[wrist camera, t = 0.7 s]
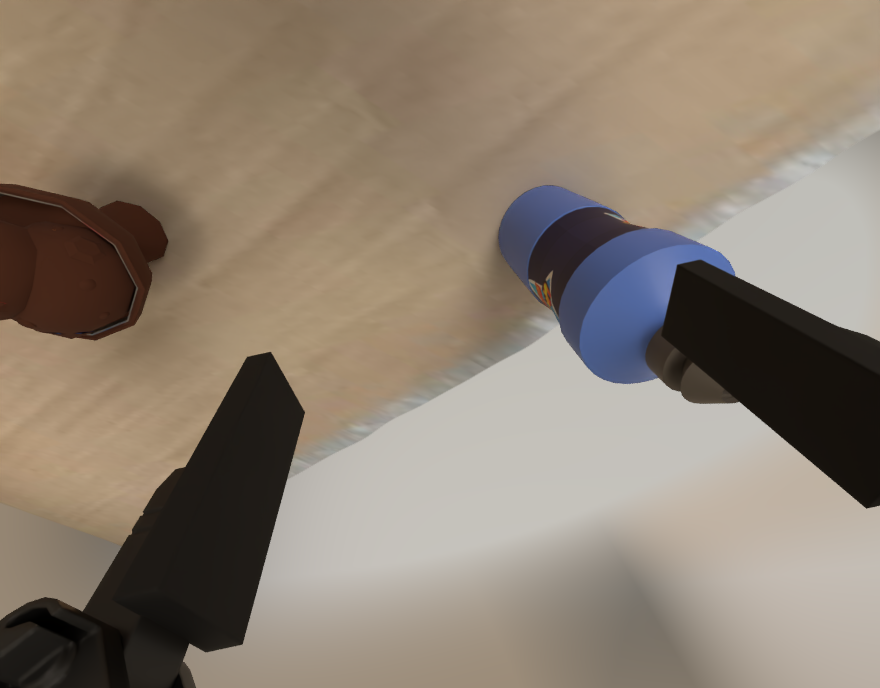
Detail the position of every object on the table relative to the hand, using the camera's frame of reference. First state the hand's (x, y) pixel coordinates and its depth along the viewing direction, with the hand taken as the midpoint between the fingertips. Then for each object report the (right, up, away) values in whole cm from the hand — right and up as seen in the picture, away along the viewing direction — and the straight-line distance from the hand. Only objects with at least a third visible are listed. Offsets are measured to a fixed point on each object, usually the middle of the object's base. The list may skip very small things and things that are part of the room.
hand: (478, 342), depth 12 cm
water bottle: (+9, +12, +25) cm, 29 cm away
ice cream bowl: (-29, +10, +20) cm, 37 cm away
